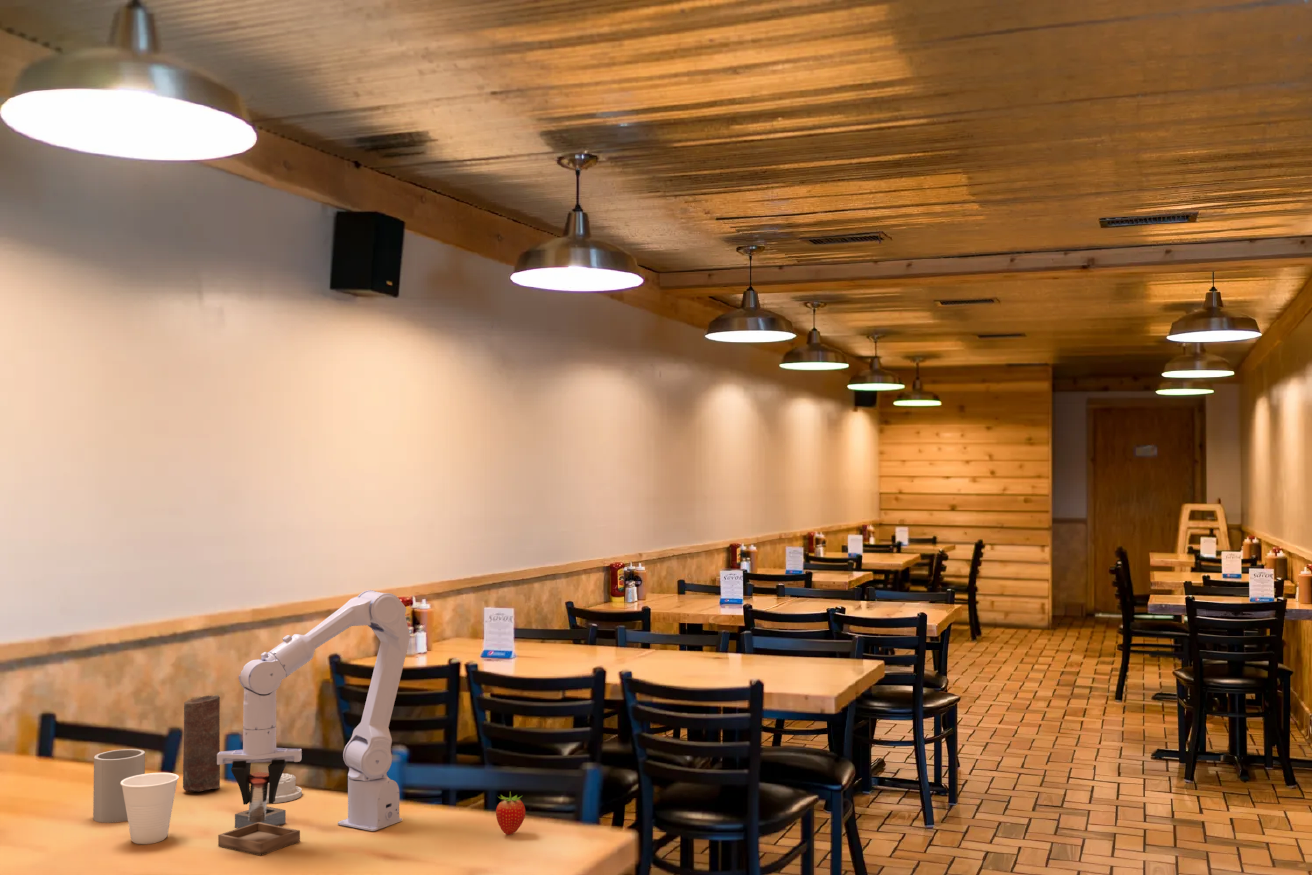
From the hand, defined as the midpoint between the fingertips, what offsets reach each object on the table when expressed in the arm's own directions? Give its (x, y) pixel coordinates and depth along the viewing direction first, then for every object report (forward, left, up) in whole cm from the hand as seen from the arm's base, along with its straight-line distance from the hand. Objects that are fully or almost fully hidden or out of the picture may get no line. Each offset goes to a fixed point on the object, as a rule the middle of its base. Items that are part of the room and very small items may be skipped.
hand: (259, 802), depth 208 cm
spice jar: (+1, 0, -3) cm, 3 cm away
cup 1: (+39, +1, -8) cm, 40 cm away
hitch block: (+9, -8, -7) cm, 14 cm away
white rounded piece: (+22, -24, -8) cm, 33 cm away
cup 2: (+20, +8, -8) cm, 23 cm away
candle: (+40, -19, -8) cm, 45 cm away
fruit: (-37, -26, -8) cm, 46 cm away
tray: (0, 0, -7) cm, 7 cm away
